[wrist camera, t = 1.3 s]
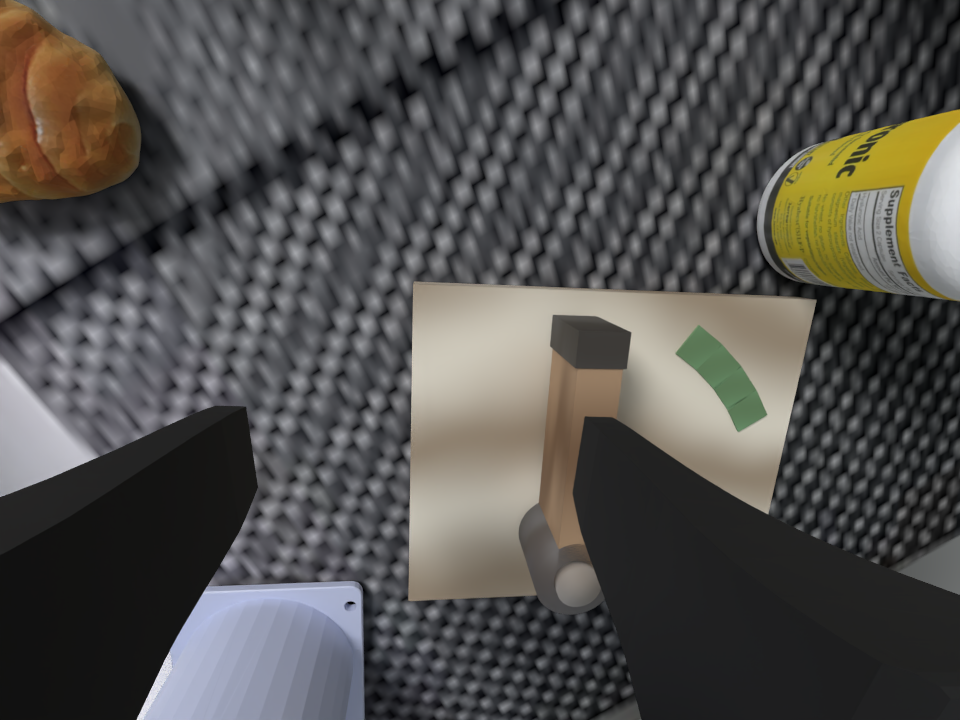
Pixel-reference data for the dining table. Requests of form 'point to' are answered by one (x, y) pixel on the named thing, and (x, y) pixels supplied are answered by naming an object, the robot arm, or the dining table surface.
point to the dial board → (524, 399)
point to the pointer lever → (571, 458)
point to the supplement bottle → (870, 211)
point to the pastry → (59, 113)
